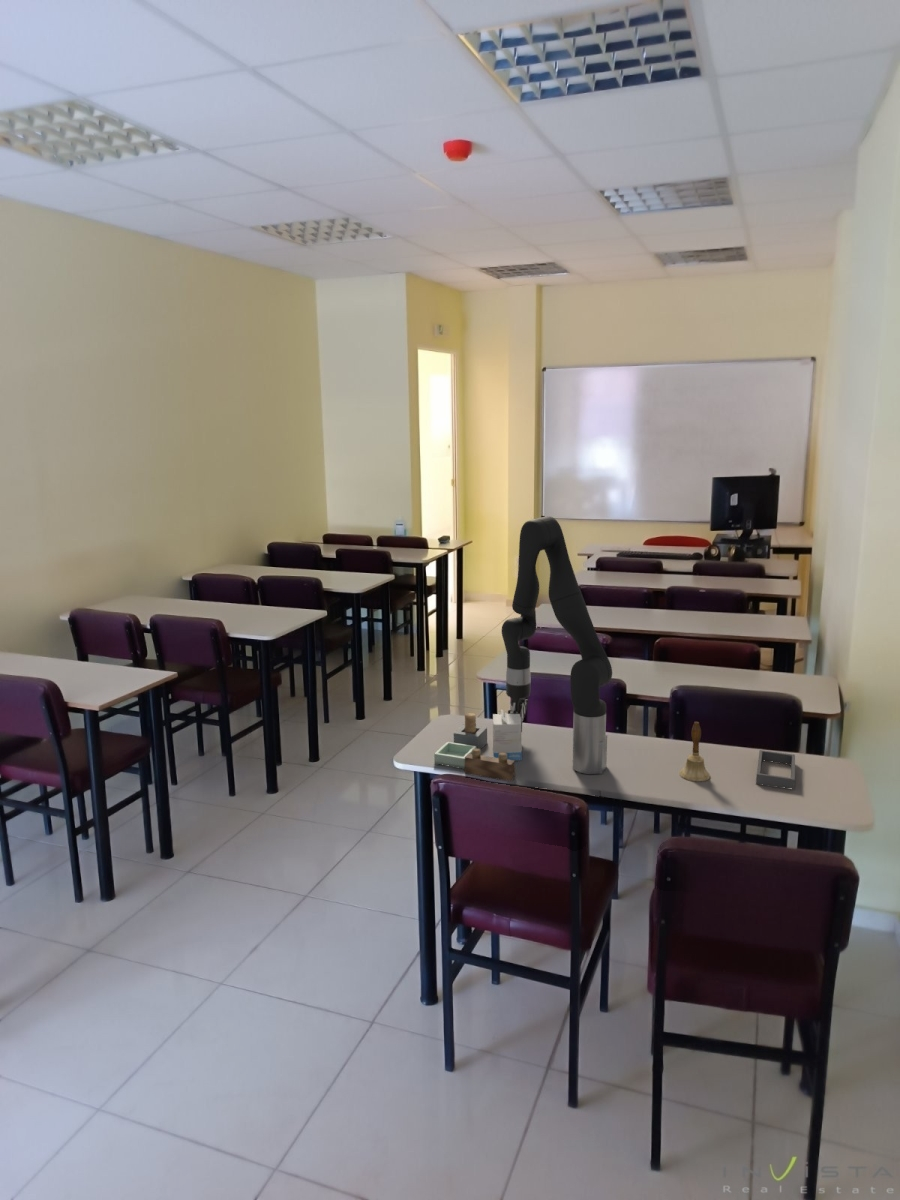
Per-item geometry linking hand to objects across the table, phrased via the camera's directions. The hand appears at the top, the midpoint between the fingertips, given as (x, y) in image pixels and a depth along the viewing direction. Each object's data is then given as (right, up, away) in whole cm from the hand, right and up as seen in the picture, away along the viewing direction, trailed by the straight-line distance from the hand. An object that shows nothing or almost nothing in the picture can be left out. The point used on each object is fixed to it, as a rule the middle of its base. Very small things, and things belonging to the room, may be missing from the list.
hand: (518, 732), depth 250 cm
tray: (-20, -6, -12) cm, 24 cm away
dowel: (-15, -4, -1) cm, 15 cm away
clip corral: (+71, -7, -25) cm, 75 cm away
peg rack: (-10, -8, -22) cm, 26 cm away
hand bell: (+48, -8, -24) cm, 54 cm away
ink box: (-4, -5, -9) cm, 11 cm away
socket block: (-15, -4, -1) cm, 15 cm away
